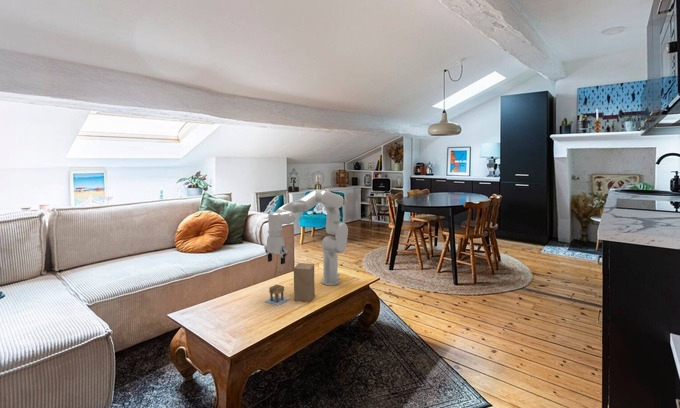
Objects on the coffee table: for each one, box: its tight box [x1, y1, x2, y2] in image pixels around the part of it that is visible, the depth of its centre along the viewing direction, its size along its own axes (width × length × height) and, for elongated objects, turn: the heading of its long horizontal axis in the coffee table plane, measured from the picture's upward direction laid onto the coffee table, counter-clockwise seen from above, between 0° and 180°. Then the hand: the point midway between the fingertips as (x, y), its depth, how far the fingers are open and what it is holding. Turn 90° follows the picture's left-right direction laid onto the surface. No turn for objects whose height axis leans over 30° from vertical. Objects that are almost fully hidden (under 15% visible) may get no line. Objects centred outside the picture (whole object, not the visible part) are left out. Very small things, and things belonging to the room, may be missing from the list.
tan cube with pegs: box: [268, 283, 285, 303], centre depth 203 cm, size 6×6×8 cm
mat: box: [264, 295, 290, 307], centre depth 204 cm, size 10×10×1 cm
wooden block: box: [293, 262, 315, 302], centre depth 207 cm, size 10×10×20 cm
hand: (276, 262), depth 201 cm, fingers open, 9 cm apart
